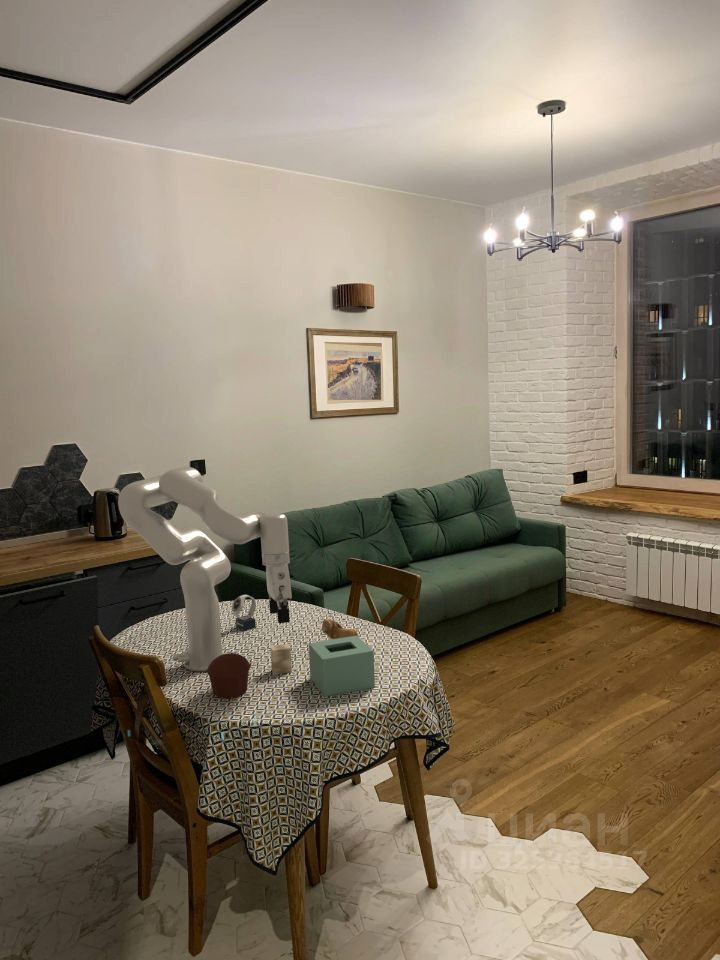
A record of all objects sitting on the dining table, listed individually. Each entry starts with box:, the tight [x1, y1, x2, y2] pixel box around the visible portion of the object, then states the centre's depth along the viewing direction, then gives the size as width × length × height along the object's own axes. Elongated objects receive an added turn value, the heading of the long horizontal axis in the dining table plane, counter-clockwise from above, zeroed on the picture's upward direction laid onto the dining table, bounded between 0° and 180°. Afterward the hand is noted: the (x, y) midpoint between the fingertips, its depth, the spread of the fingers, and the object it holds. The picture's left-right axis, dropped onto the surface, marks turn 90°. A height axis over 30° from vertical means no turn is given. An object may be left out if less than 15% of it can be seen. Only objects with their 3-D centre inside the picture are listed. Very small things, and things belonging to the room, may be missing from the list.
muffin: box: [205, 652, 252, 700], centre depth 191 cm, size 12×11×10 cm
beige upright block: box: [270, 643, 293, 675], centre depth 204 cm, size 5×4×7 cm
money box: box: [308, 635, 376, 697], centre depth 195 cm, size 14×13×10 cm
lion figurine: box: [320, 618, 360, 640], centre depth 219 cm, size 15×5×9 cm, turn 67°
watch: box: [231, 594, 257, 632], centre depth 243 cm, size 6×8×11 cm
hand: (279, 617), depth 203 cm, fingers open, 9 cm apart
